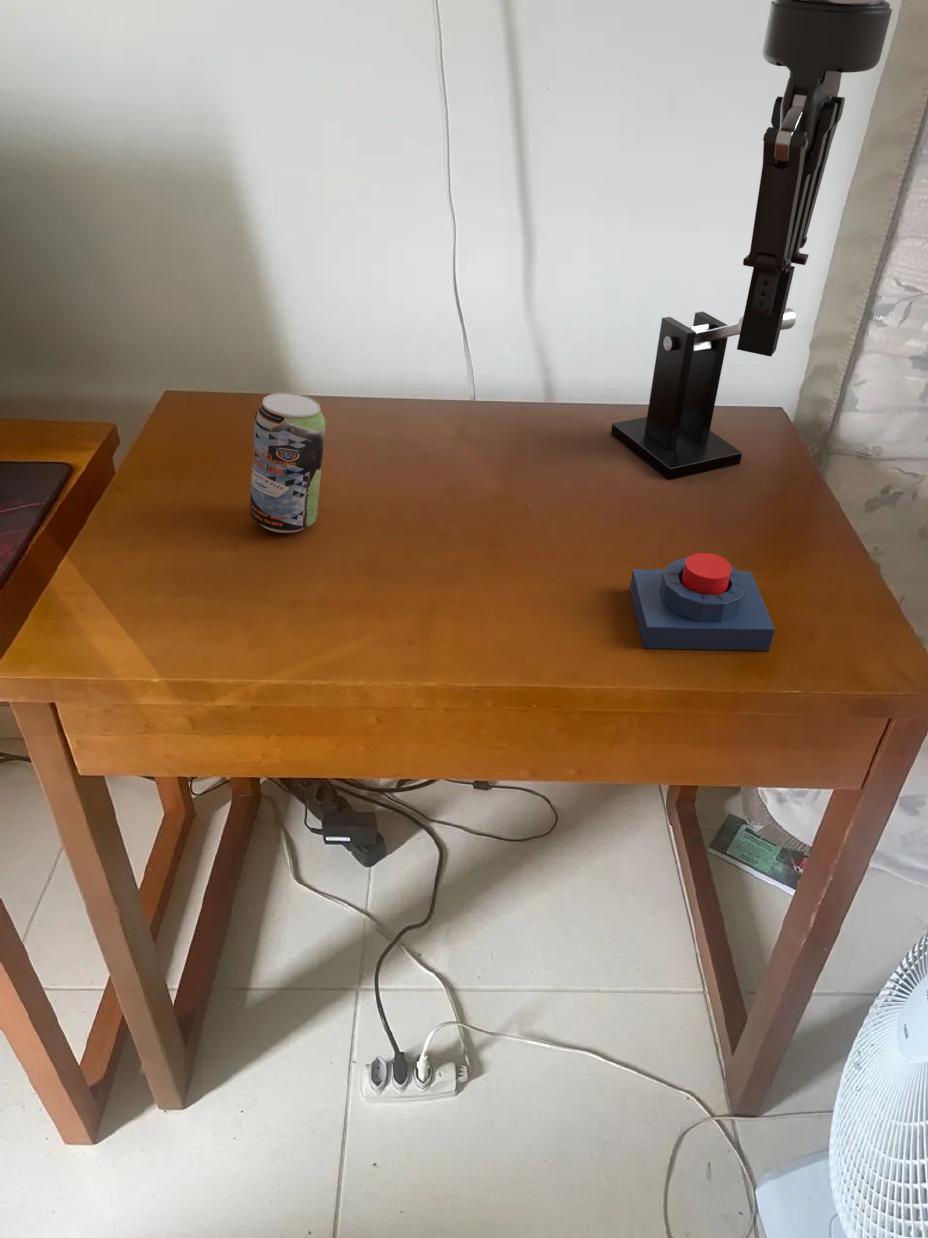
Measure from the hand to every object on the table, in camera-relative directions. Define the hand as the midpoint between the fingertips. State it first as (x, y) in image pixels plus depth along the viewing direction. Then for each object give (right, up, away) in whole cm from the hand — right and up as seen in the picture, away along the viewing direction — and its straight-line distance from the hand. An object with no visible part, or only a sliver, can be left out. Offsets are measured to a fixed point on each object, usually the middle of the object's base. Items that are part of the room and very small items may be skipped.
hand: (756, 349), depth 77 cm
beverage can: (-39, -12, +14) cm, 43 cm away
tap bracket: (-1, -3, +28) cm, 28 cm away
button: (-4, -18, +1) cm, 19 cm away
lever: (+2, +5, +16) cm, 17 cm away
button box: (-4, -21, +4) cm, 22 cm away
